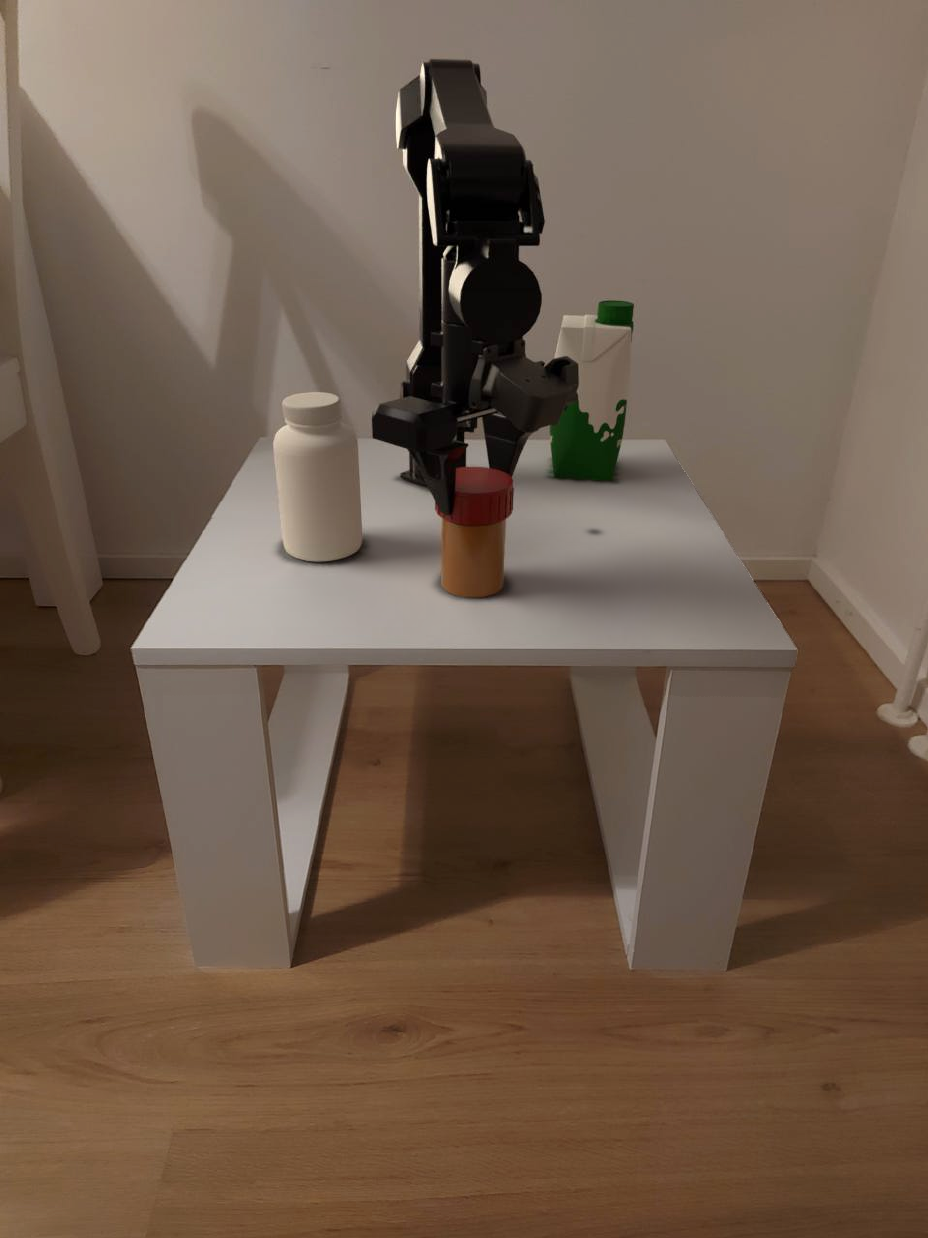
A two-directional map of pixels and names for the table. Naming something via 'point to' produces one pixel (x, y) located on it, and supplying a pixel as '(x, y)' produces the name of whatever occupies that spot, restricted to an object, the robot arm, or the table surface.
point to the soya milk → (594, 392)
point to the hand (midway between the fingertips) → (473, 503)
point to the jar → (472, 558)
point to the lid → (481, 496)
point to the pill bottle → (318, 479)
